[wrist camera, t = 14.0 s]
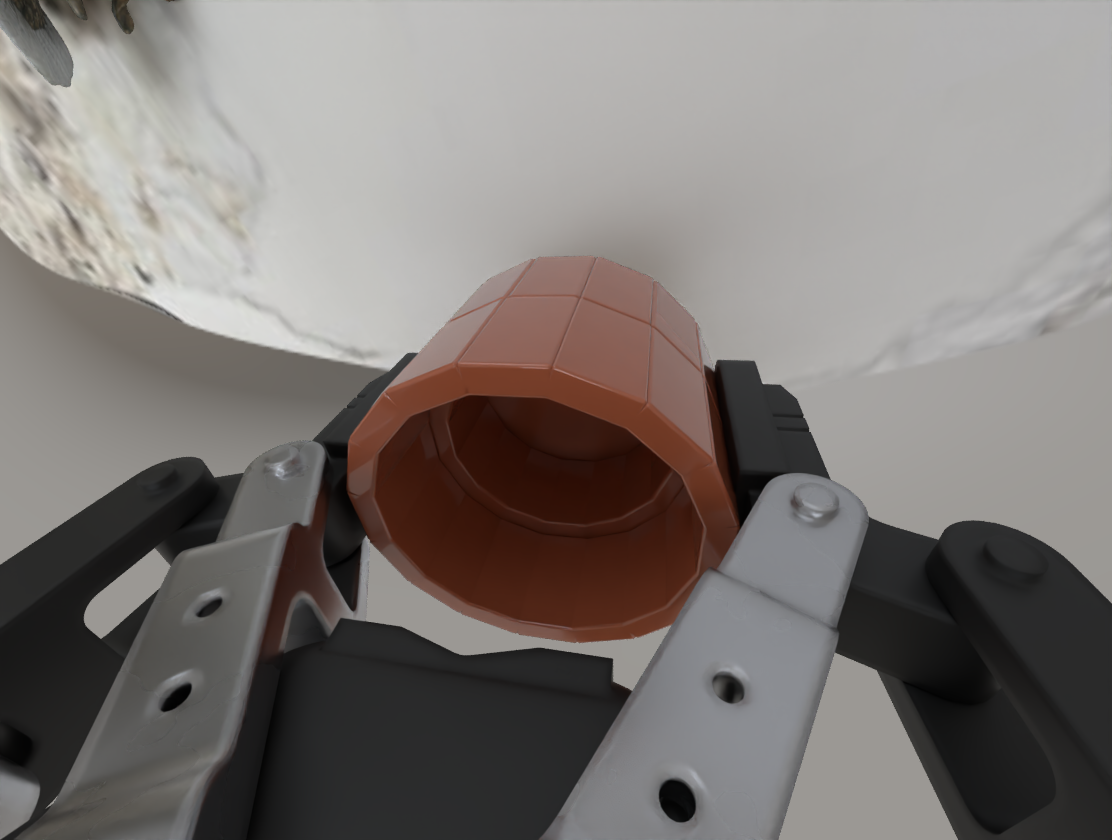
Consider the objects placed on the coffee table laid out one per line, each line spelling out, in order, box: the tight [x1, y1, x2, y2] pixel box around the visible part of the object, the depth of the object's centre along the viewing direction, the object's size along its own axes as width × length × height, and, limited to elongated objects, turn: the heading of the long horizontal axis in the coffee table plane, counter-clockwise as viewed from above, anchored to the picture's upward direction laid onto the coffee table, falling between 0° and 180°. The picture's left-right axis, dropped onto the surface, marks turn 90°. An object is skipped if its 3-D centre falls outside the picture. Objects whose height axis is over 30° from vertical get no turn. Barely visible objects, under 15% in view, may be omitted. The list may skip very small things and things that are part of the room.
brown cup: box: [346, 256, 740, 643], centre depth 9 cm, size 6×6×5 cm
